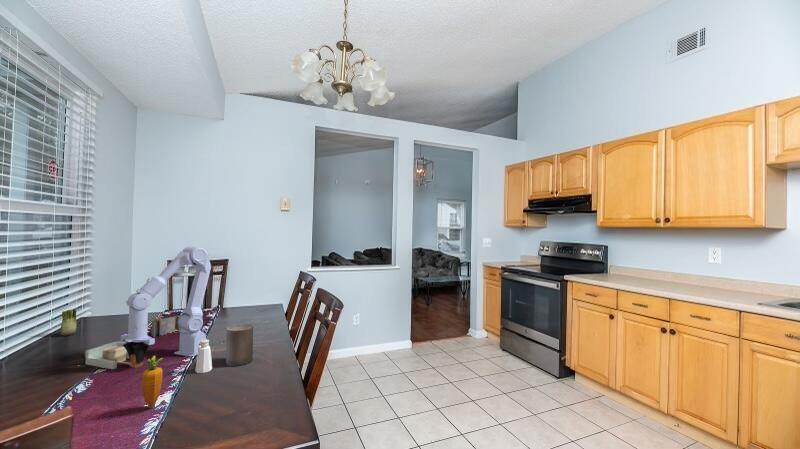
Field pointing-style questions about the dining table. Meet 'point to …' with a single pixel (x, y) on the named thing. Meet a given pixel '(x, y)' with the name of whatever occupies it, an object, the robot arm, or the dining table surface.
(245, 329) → the pillar candle
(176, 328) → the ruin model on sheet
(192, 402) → the dining table surface
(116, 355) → the tethered block
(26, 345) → the dining table surface
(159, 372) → the carrot
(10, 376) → the dining table surface
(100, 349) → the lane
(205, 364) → the pepper shaker
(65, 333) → the fennel bulb
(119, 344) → the stone block
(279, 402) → the dining table surface
